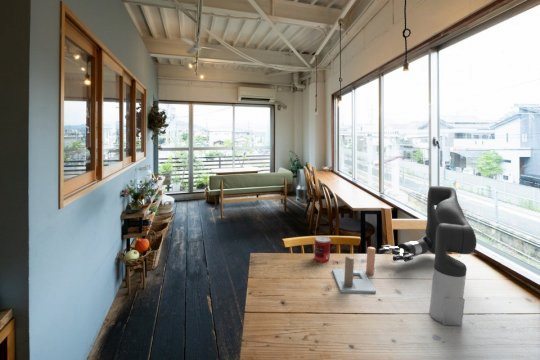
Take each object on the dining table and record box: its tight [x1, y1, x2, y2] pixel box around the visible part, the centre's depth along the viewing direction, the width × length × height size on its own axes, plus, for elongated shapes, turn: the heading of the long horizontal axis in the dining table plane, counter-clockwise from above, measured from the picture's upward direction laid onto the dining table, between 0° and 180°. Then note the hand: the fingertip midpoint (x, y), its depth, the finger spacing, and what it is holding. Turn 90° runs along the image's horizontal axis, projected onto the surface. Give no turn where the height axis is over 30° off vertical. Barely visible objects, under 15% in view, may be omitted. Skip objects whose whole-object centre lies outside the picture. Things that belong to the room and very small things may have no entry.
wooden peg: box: [365, 246, 376, 276], centre depth 127 cm, size 3×3×12 cm
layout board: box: [332, 255, 377, 294], centre depth 119 cm, size 18×14×13 cm
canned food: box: [314, 235, 331, 263], centre depth 141 cm, size 8×8×11 cm
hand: (386, 255), depth 130 cm, fingers open, 8 cm apart
